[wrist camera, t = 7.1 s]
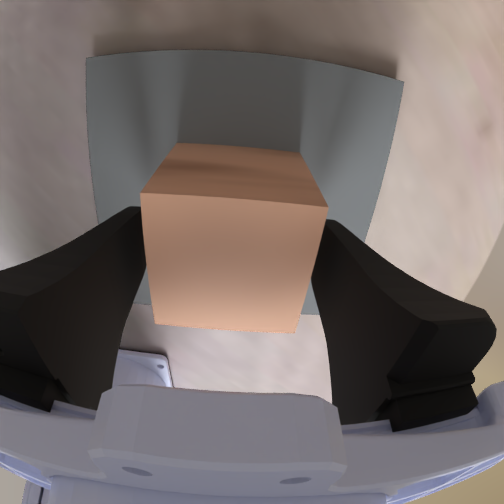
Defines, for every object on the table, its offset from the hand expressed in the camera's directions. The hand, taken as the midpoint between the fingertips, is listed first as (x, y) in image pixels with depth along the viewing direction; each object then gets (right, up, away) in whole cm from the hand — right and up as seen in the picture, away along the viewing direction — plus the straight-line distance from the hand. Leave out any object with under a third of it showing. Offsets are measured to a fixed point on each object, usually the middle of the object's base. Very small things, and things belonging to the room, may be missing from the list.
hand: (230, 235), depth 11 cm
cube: (0, +2, +2) cm, 3 cm away
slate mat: (0, +2, +3) cm, 3 cm away
